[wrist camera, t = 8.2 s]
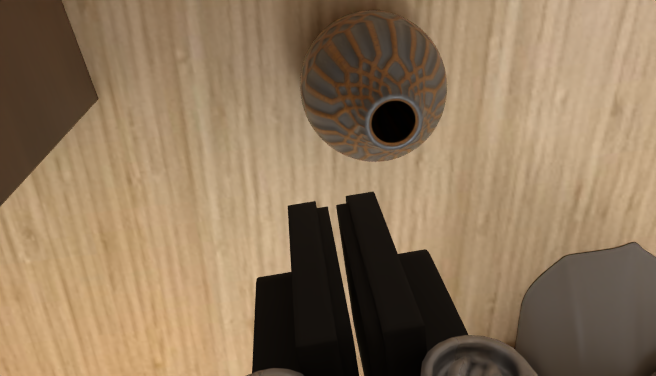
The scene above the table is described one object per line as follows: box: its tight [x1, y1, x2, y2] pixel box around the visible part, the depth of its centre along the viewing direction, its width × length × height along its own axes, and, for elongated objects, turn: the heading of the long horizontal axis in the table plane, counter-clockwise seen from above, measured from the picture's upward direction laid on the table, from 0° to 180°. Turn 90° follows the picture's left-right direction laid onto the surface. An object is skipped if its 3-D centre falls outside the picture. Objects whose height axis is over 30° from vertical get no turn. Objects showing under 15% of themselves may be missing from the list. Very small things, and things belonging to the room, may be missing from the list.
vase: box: [300, 10, 447, 162], centre depth 26 cm, size 7×7×9 cm
